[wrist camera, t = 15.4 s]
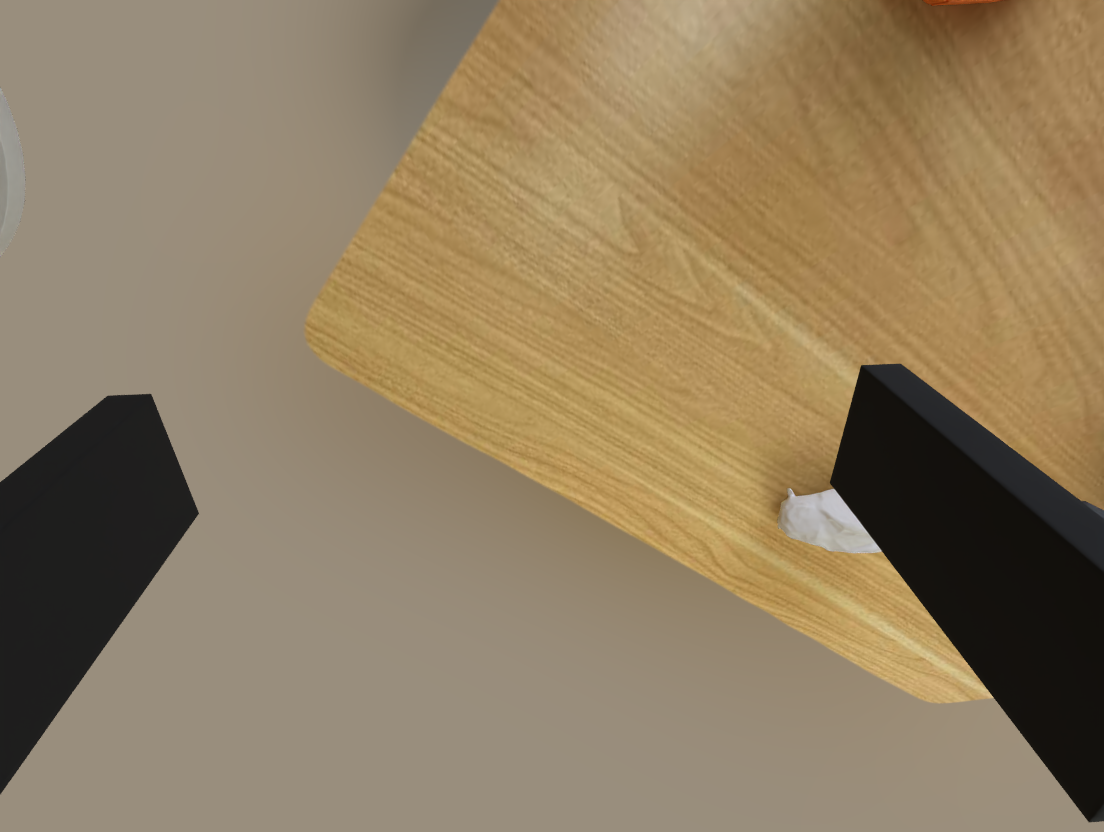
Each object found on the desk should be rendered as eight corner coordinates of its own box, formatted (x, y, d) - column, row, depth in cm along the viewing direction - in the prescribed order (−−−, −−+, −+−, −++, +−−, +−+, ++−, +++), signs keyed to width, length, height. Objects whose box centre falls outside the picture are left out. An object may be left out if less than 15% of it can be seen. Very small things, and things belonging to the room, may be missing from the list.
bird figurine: (881, 460, 50) (777, 486, 48) (943, 522, 45) (831, 554, 43) (860, 500, 53) (761, 526, 51) (916, 561, 48) (811, 593, 46)
